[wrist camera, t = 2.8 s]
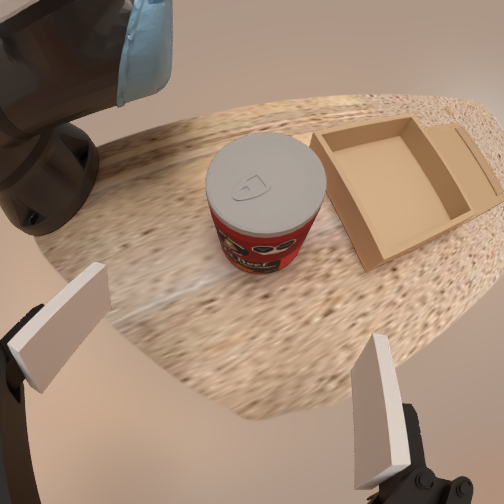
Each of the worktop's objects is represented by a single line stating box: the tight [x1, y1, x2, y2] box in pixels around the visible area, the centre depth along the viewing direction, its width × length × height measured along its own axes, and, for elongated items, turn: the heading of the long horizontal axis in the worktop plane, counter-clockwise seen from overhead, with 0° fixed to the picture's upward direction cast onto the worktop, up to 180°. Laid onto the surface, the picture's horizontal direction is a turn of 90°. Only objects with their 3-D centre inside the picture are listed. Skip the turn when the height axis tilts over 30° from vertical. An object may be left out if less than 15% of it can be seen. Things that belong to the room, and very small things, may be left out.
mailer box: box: [309, 113, 504, 272], centre depth 29 cm, size 28×14×4 cm, turn 111°
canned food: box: [206, 132, 326, 274], centre depth 23 cm, size 8×8×11 cm
